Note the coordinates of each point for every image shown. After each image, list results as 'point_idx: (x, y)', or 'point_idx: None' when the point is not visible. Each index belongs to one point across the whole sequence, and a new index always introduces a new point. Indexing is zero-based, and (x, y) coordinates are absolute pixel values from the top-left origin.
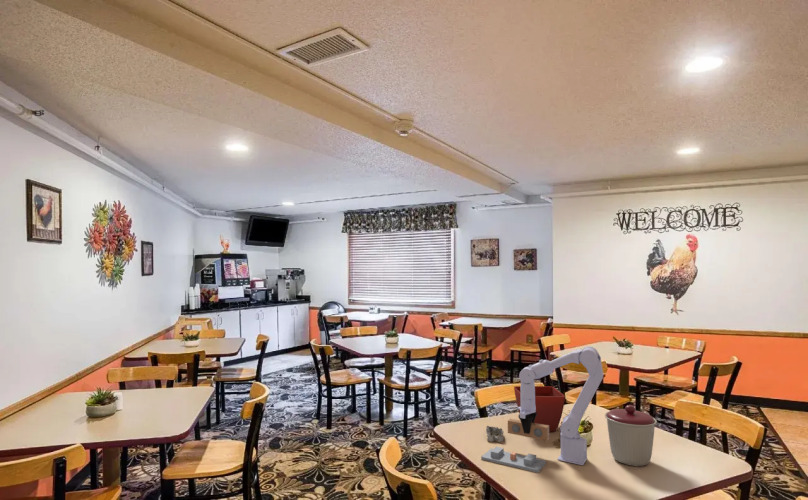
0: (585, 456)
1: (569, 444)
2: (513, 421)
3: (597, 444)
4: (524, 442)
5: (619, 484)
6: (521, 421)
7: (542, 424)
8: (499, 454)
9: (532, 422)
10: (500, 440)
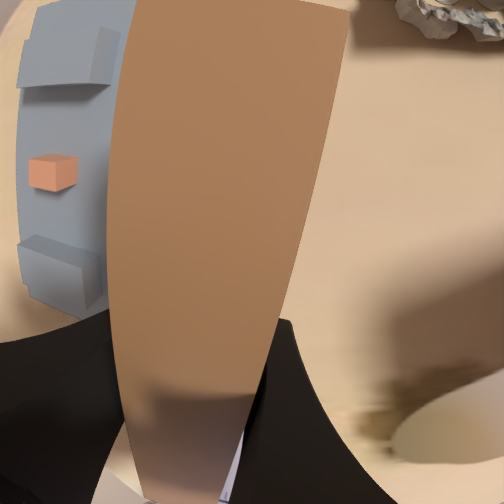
0: None
1: None
2: (124, 143)
3: (427, 472)
4: (448, 202)
5: (123, 462)
6: (17, 350)
7: (212, 502)
8: (44, 86)
9: (240, 459)
10: (400, 13)
